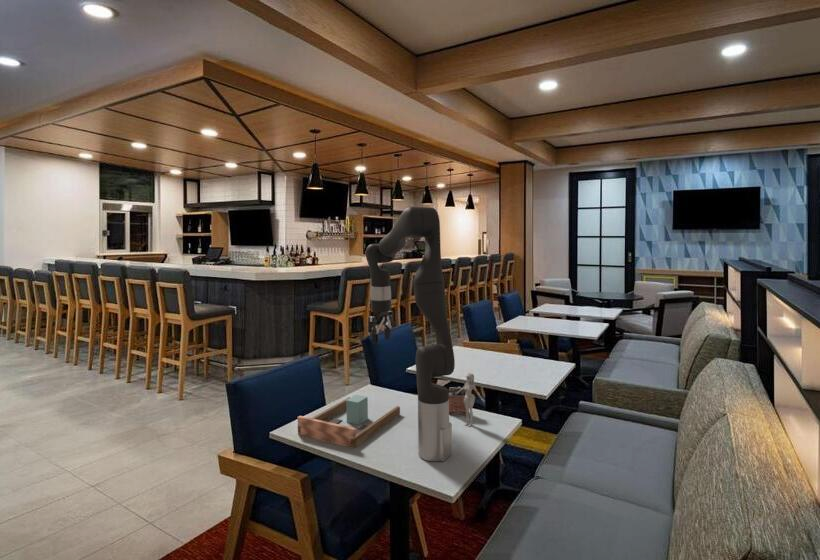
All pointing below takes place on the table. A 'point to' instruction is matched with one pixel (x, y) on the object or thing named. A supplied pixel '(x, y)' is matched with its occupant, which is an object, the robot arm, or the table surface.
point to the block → (357, 409)
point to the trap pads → (336, 421)
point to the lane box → (340, 427)
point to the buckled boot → (457, 402)
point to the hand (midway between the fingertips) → (381, 341)
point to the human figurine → (469, 396)
